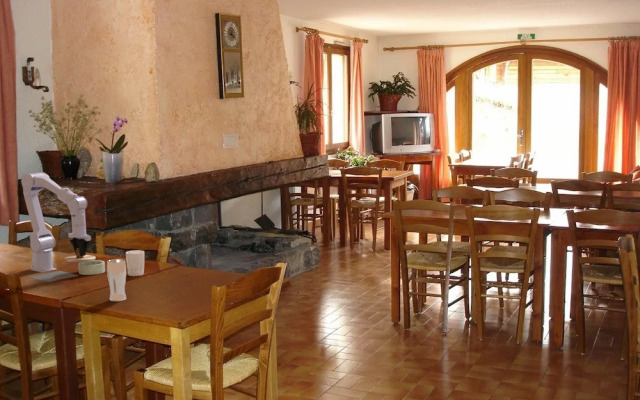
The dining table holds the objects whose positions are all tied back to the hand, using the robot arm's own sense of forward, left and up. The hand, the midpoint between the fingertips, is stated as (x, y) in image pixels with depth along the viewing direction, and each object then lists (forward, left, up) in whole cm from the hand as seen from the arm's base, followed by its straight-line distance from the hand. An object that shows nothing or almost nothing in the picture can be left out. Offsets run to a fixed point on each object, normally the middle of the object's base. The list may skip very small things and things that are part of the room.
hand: (80, 255), depth 313 cm
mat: (-4, -11, -9) cm, 14 cm away
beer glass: (+49, -16, -9) cm, 52 cm away
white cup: (+20, +14, -9) cm, 26 cm away
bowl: (+2, +4, -9) cm, 10 cm away
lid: (0, 0, -2) cm, 2 cm away
